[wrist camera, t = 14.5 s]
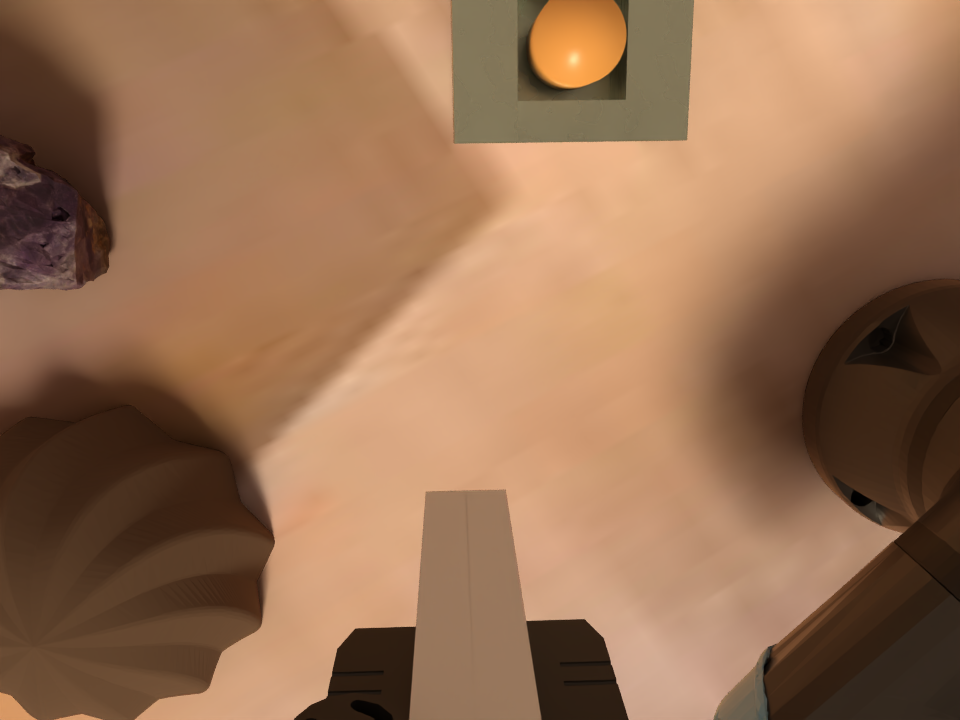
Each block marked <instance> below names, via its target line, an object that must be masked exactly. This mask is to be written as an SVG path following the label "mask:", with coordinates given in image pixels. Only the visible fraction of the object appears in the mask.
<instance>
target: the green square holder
mask: <svg viewBox="0 0 960 720" xmlns="http://www.w3.org/2000/svg"><path fill="white" fill-rule="evenodd" d="M548 1H549V0H451V29H452V78H453V127H454V144H455V143H528V142H602V141H676V140H687V130H688V110H689V90H690V69H691V49H692V28H693V8H694V0H614V1H615V3H616V4H617V5H618V7H619V8H620V10H621V12H622V14H623V17H624V20H625V24H626V44H625V48H624V51H623V54H622V56H621V58H620V60H619V62H618V63H617V65H616V66H615V67H614V69H613V70H612V71H611V72H610V73H609V74H607V75H606V76H605V77H603V78H602V79H600V80H598V81H595V82H593V83H590V84H588V85H586V86H583V87H581V88H578V89H574V90H558V89H554V88H551V87H549V86H547V85H545V84H544V83H543V82H541V81H540V80H539V79H538V78H537V77H536V76H535V74H534V73H533V71H532V70H531V68H530V66H529V63H528V60H527V55H526V40H527V35H528V32H529V30H530V27H531V25H532V24H533V22H534V20H535V19H536V18H537V16H538V15H539V13H540V12H541V10H542V9H543V7H544V6H545V5H546V4H547V2H548Z"/></svg>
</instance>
